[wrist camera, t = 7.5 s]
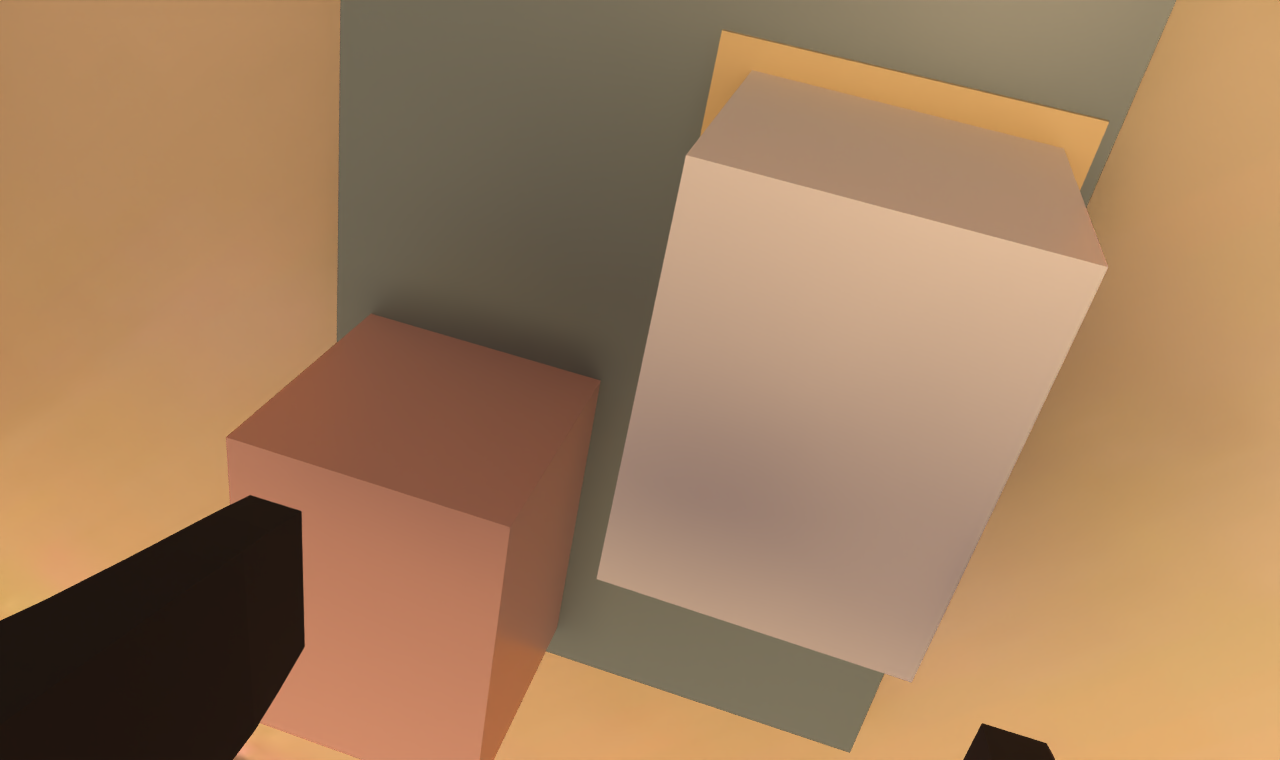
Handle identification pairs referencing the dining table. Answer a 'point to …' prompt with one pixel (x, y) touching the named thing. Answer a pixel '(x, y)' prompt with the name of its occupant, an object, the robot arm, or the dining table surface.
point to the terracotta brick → (420, 534)
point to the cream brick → (843, 366)
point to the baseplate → (655, 218)
